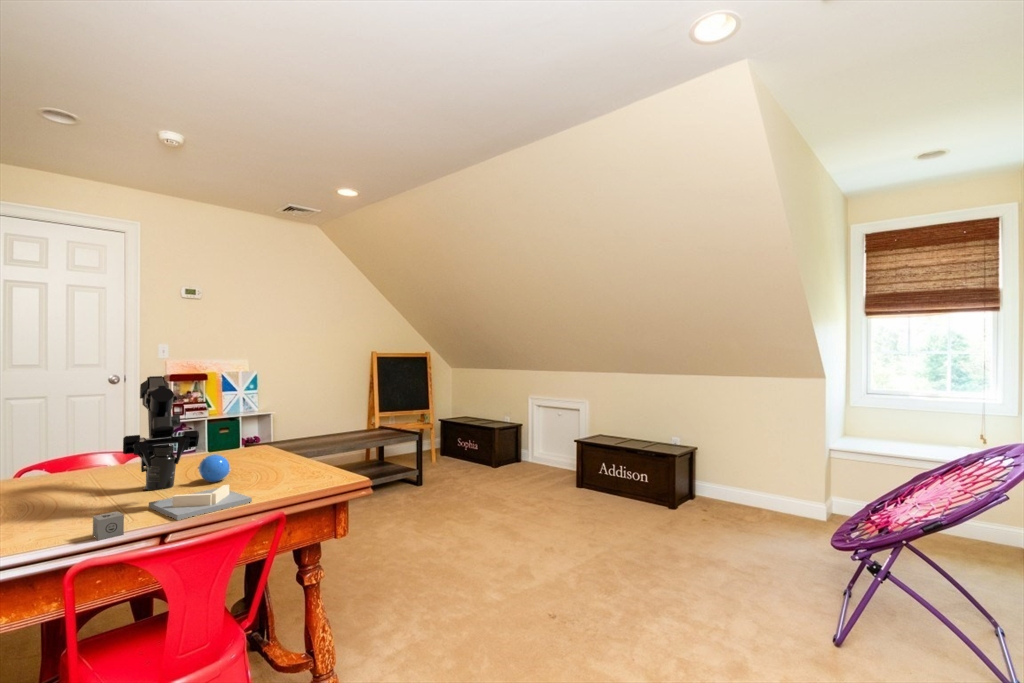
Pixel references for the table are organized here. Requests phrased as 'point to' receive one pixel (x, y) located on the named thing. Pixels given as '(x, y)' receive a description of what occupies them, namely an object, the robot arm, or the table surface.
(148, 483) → the supplement bottle
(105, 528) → the dice cube
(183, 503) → the v cradle
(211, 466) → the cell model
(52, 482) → the table surface
